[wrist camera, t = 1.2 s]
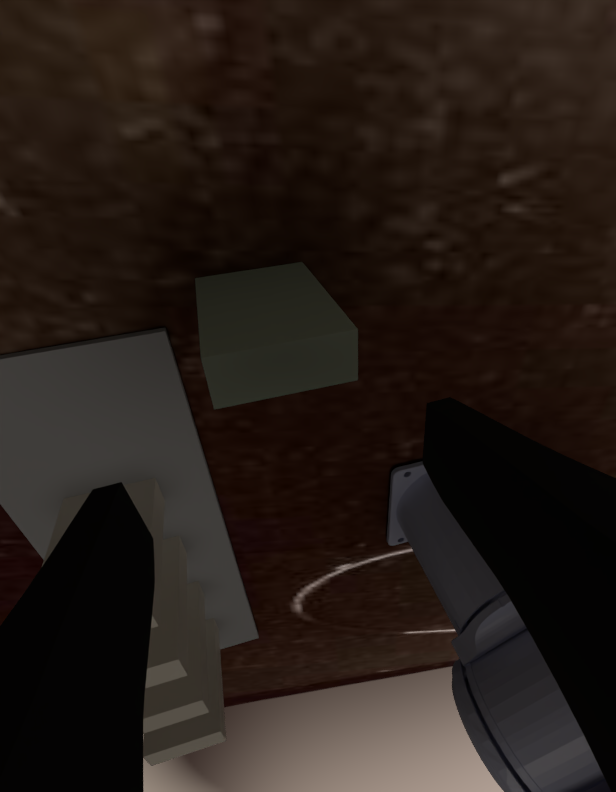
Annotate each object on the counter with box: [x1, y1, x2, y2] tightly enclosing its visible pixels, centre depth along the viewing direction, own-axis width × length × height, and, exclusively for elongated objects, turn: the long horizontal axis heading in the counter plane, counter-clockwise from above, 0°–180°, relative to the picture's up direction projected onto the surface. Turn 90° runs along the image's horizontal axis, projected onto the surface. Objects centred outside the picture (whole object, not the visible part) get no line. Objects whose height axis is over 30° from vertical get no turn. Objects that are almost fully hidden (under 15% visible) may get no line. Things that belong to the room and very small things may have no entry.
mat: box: [0, 327, 259, 649], centre depth 25 cm, size 10×28×1 cm, turn 4°
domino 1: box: [42, 478, 165, 628], centre depth 19 cm, size 2×5×7 cm, turn 94°
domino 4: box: [143, 618, 226, 766], centre depth 28 cm, size 2×5×7 cm, turn 94°
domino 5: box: [195, 262, 358, 409], centre depth 15 cm, size 2×5×7 cm, turn 94°
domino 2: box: [145, 536, 188, 688], centre depth 22 cm, size 2×5×7 cm, turn 94°
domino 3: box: [143, 581, 209, 734], centre depth 25 cm, size 2×5×7 cm, turn 94°
